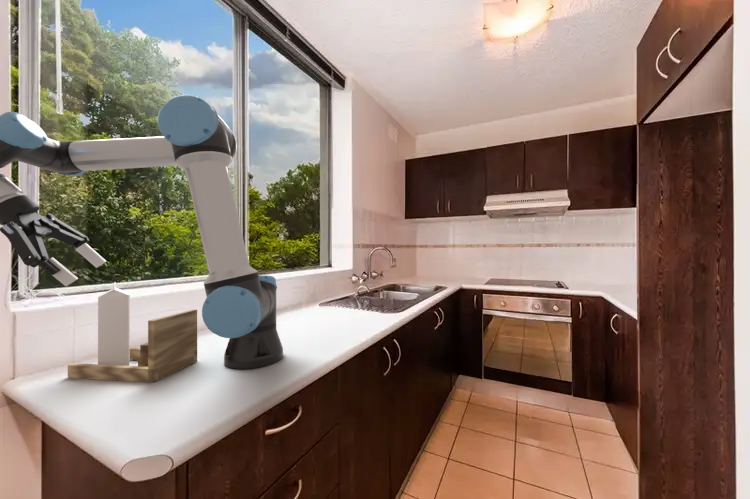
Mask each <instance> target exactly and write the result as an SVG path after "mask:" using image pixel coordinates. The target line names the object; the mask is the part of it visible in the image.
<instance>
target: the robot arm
mask: <svg viewBox="0 0 750 499" xmlns="http://www.w3.org/2000/svg"><path fill="white" fill-rule="evenodd" d="M156 120H157V126H158V130H159V131H160V133H161V134H162V136H145V137H131V138H130V137H129V138H128V137H127V138H123V137H122V138H108V139H107V138H106V139H89V140H87V139H86V140H71V141H69V140H67V141H65V140H64V141H59V140H55V139H52V138H49V137H48V136H47V134H46V132H45V131H44V129H42V127H40V126H39V125H38V124H37V123H36V122H35V121H33V120H32V119H29V118H28V117H27V116H26V115H24V114H22V113H19V112H15V111H7V112H4V113H2V114H0V169H2V168H5V167H7V166H8V165H10V164H12V163H13V162H15V161H16V162H21V163H23V164H27V165H30V166H34V167H38V168H41V169H45V170H47V171H51V172H54V173H56V174H59V175H63V176H69V177H79V176H82V175H83V174H86V173H87V172H90V171H94V172H95V171H107V170H110V171H111V170H124V169H126V170H127V169H128V170H129V169H140V168H143V169H145V168H158V167H175V166H177V167H179V168H180V169H182V170H184V171H185V174H186V178H187V182H188V186H189V187H188V188H189V191H190V195H191V199H192V203H193V204H192V205H193V208H194V209H193V210H194V213H195V219H196V221H197V225H198V230H199V234H200V238H201V243H202V248H203V253H204V255H205V256H204V258H205V259H206V266H207V270H208V276H207V277H206V279H205V280H204V281H203V286H204V291H205V296H206V298H205V300H204V301H203V305H202V307H201V316H202V321H203V323H204V324H205V326H206V328H207V329H208V330H209V332H211V333H212V334H214V335H217V336H219V337H221V338H225V339H228V343H227V346H226V348H225V351H224V356H223V363H224V366H225V367H228V368H230V369H237V370H248V369H250V370H251V369H255V368H256V369H257V368H262V367H266V366H270V365H273V364H275V363H277V362H279V361H281V360H282V358H284V348H283V344H282V341H281V338H280V335H279V333H278V331H277V289H278V285H277V279H276V278H275V277H274V276H272V275H264V274H263V275H261V274H259V271H258V270H257V269H255V268H253V267H252V266H251V265H250V262H249V258H248V253H247V248H246V245H245V241H244V236H243V232H242V228H241V223H240V218H239V214H238V209H237V206H236V202H235V196H234V193H233V188H232V183H231V179H230V176H229V171H228V170H229V169H228V167H229V166H230V164H231V163H232V161H233V158H234V157H235V155H236V153H237V150H238V143H237V138H236V135H235V133H234V132H233V130H232V129H231V128H230V127H229V125H228V124H227V123H226V122H225V121H224V120H223V119H222V117H221V116H220V115H219V114H218V112H217V109H215V108H214V106H212V105H211V104H209V103H208V102H207V100H204V99H203V98H200V96H196V95H191V94H181V95H177V96H174V97H171V98H170V99H169V100H167V101H166V102H165V103H164V105H163V106H161V108H160V109H159V111H158V114H157V119H156ZM40 208H41V207H40V205H38V203H37V202H35V201H34V200H33V199H32V198H31V197H30V196H29V195H26V194H24V191H23V190H22V189H21V188H20V187H19V186H18V185H16V184H15V183H14V182H13V181H11V180H10V178H8V177H7V176H6V175H5V174H4V173H3V172H2V171H1V170H0V226H1V227H0V232H1V234H3V235H4V236H5V237H6V238H7V239H8V241H9V243H10V244H11V245H12V247H13V249H14V251H15V252H16V253H17V255H18V257H19V258H20V260H21V261H22V262H23V264H24V265H25V266H30V267H31V268H37V267H41V269H43V270H44V271H45V272H47V273H48V274H49V275H51V276H52V277H53V278H55V279H56V280H57V281H58V282H60V283H61V284H63V286H64V287H68V286H70V285H71V284H72V283H74V282H76V281H77V280H78V279H79V278H78V276H76V275H75V274H74V273H73V272H71V271H70V270H69V269H68V268H67V267H66V266H65V265H63V264H62V263H61V262H59V261H58V260H57V259H55V258H54V256H52V257H50V256H49V254H48V251H47V249H46V246H45V244H44V241H43V238H44V237H45V238H53V239H55V240H57V241H59V242H62V243H64V244H67V245H69V246H72V247H75V252H77V253H79V255H80V256H82V257H83V258H84V259H86V260H87V261H88V262H89V263H90V264H91V265H92V266H94V268H96V269H97V268H99V267H100V266H101V265H103V264H105V263H106V262H107V260H106V259H105V258H104V257H103V256H101V255H100V253H98V252H97V251H96V250H95V249H94V248H92V247H91V246H90V245H89V244H88V242H90V239H89V237H88V236H86V235H85V234H84V233H82V232H80V231H78V230H77V229H76V228H73V227H71V226H70V225H68V224H66V222H64V221H61V220H60V219H58V218H57V217H56V216H55V215H54V214H52V213H50V212H49V213H46V214H44V215H41V214H40V213H39V212H38V211H39V210H40ZM49 257H50V258H49Z"/></svg>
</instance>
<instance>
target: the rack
mask: <svg viewBox="0 0 750 499" xmlns="http://www.w3.org/2000/svg"><path fill="white" fill-rule="evenodd" d="M147 343H148V367H142V366H138V365H129V366H120V365H98V363H97V364H96V363H95V364H94V363H77V362H75V363H70V364H67V379H80V380H82V379H85V380H101V381H102V380H104V381H118V382H119V381H121V382H122V381H123V382H140V383H141V382H142V383H156V382H157V381H159V380H161V379H164V378H166V377H168V376H170V375H172V374H174V373H176V372H178V371H180V370H182V369H184V368H186V367H188V366H190V365H192V364H194V363H196V362H198V309H188V310H185V311H182V312H177V313H174V314H169V315H166V316H162V317H158V318H154V319H150V320H148V321H147ZM139 356H141V355H140V347H130V360H131V361H138V357H139Z"/></svg>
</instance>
